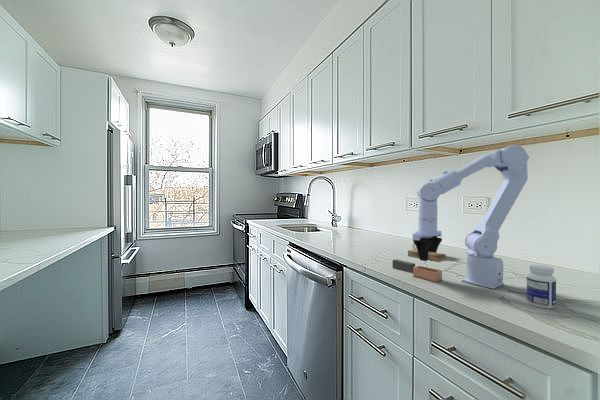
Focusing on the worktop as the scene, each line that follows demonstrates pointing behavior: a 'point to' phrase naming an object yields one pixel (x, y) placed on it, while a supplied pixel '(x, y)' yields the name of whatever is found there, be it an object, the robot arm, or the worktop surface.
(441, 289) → the worktop surface
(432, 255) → the walnut sheet
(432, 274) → the tan rectangular block
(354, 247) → the worktop surface
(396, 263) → the rubber mat block
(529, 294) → the pill bottle
